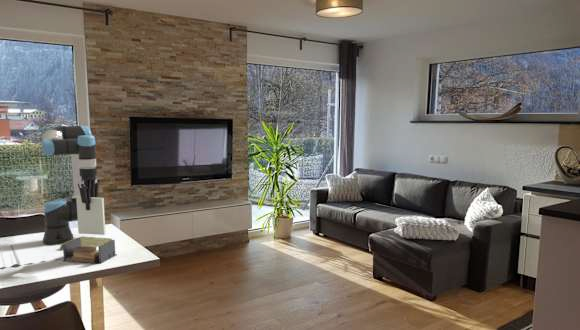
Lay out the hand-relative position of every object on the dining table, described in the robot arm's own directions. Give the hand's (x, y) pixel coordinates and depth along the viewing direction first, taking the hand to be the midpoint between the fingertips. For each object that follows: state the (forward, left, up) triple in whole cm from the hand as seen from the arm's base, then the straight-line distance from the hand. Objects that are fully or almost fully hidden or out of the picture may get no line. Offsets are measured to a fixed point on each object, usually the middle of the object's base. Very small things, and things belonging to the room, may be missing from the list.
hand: (90, 215), depth 206 cm
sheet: (0, 0, -9) cm, 9 cm away
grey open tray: (-18, -18, -23) cm, 34 cm away
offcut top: (+5, 0, -16) cm, 17 cm away
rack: (+2, 0, -22) cm, 22 cm away
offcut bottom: (+5, 0, -20) cm, 21 cm away
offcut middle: (+5, +1, -18) cm, 19 cm away
